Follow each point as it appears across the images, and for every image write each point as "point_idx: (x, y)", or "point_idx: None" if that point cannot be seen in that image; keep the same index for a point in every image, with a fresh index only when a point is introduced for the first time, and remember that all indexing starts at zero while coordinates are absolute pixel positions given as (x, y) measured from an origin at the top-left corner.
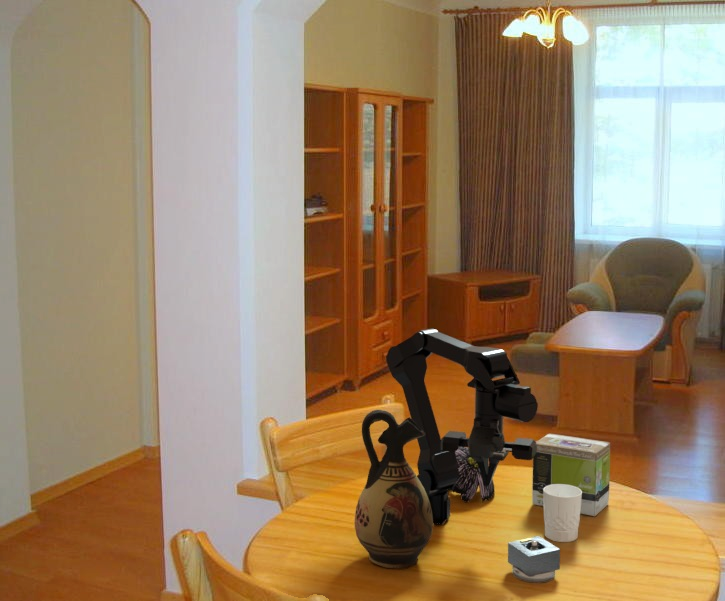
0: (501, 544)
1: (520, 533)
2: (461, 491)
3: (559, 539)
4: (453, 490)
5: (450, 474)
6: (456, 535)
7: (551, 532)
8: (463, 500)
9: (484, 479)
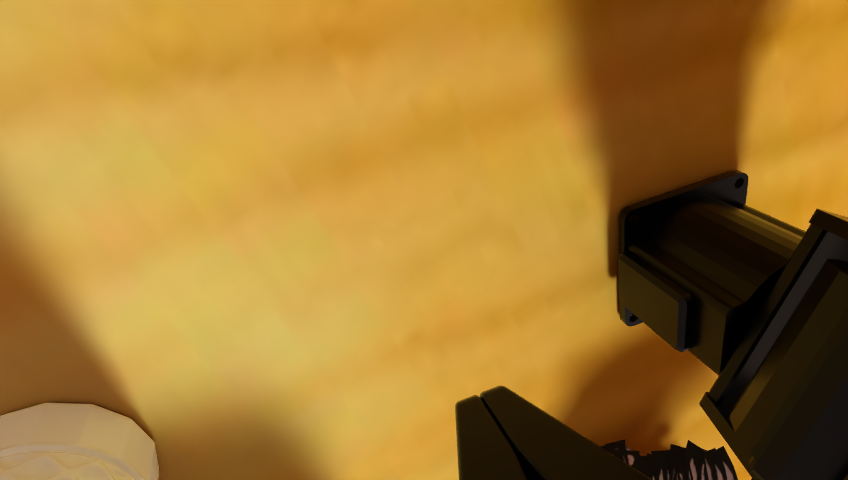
0: (261, 192)
1: (259, 365)
2: (646, 468)
3: (3, 421)
4: (677, 451)
5: (830, 423)
6: (520, 149)
7: (51, 434)
8: (613, 444)
9: (549, 435)
